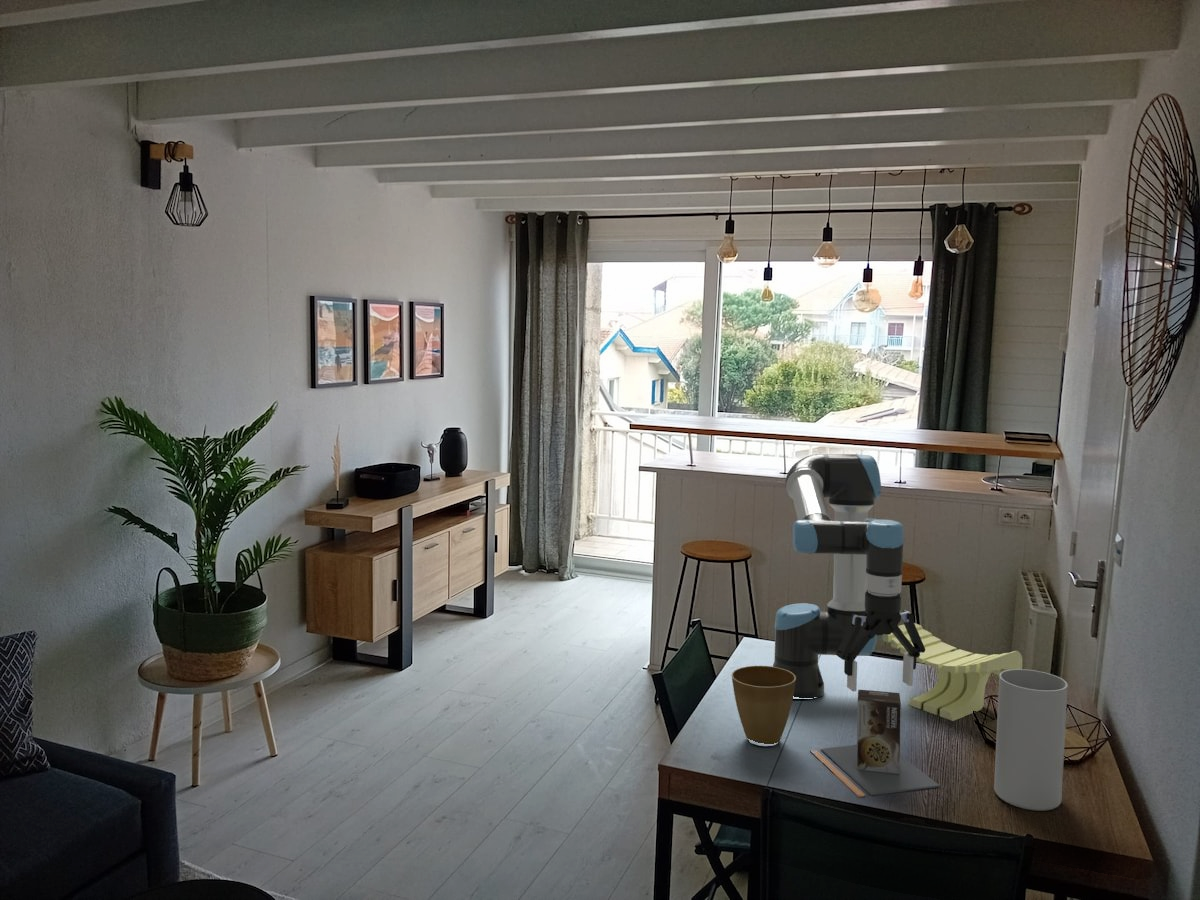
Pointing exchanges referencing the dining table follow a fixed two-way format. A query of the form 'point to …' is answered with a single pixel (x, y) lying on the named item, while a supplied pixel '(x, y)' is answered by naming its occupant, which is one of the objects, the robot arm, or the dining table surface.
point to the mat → (879, 773)
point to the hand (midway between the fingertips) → (879, 686)
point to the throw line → (839, 775)
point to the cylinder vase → (1030, 739)
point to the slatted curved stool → (955, 675)
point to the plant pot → (763, 701)
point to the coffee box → (878, 731)
